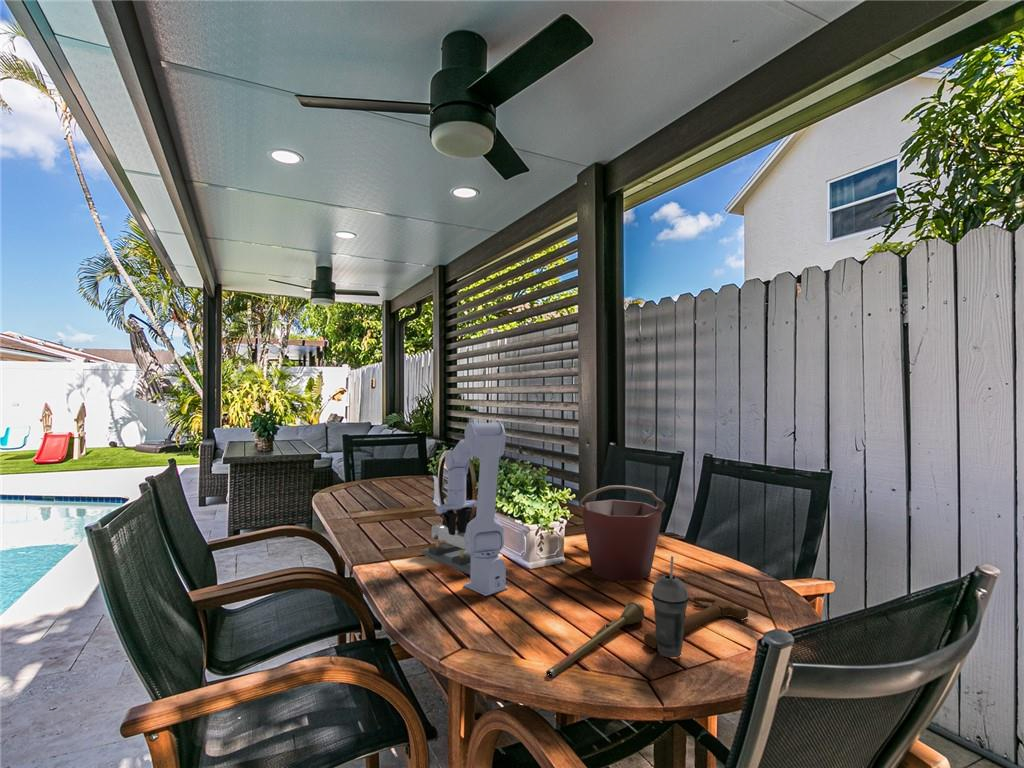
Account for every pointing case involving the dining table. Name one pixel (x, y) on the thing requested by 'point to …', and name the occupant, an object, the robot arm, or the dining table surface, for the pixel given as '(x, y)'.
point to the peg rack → (450, 556)
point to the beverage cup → (669, 613)
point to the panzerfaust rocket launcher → (602, 635)
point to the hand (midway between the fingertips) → (456, 533)
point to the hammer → (703, 616)
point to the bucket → (621, 535)
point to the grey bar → (448, 536)
